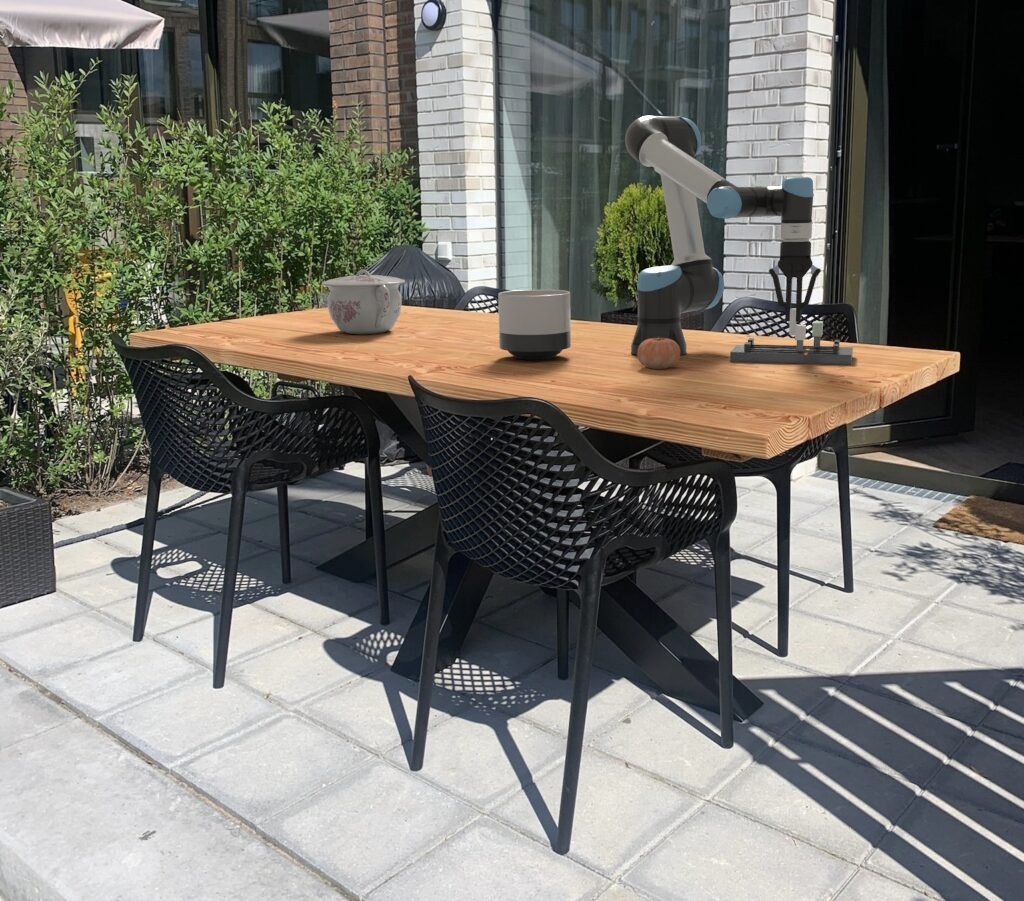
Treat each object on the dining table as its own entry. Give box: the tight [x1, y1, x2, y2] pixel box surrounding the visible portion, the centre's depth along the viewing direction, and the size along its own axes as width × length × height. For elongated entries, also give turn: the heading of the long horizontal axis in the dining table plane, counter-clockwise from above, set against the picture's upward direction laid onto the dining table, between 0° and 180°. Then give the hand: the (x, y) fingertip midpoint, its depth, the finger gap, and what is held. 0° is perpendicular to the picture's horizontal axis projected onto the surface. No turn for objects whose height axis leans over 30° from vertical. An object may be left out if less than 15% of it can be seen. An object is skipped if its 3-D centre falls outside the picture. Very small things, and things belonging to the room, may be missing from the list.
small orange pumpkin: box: [636, 337, 681, 370], centre depth 272 cm, size 11×11×8 cm
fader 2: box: [811, 320, 824, 347], centre depth 283 cm, size 2×4×6 cm, turn 162°
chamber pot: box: [321, 268, 406, 336], centre depth 356 cm, size 28×28×21 cm
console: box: [729, 337, 854, 366], centre depth 281 cm, size 30×16×4 cm, turn 72°
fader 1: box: [794, 324, 807, 351], centre depth 276 cm, size 2×4×6 cm, turn 162°
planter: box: [497, 288, 572, 361], centre depth 292 cm, size 19×19×18 cm
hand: (792, 334), depth 277 cm, fingers closed
